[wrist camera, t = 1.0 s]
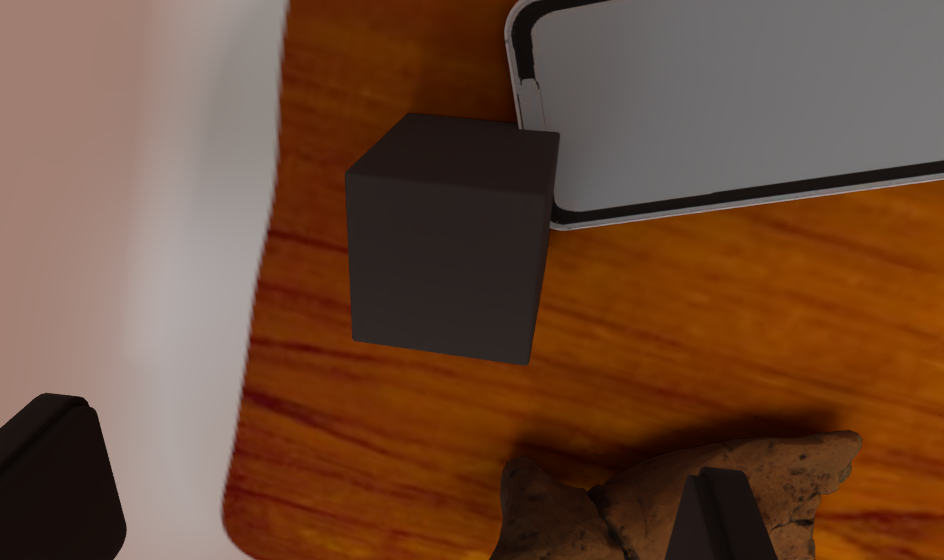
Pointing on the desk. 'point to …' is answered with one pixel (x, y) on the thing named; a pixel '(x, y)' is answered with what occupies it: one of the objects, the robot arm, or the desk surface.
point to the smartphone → (727, 100)
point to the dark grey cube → (451, 236)
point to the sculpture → (670, 499)
